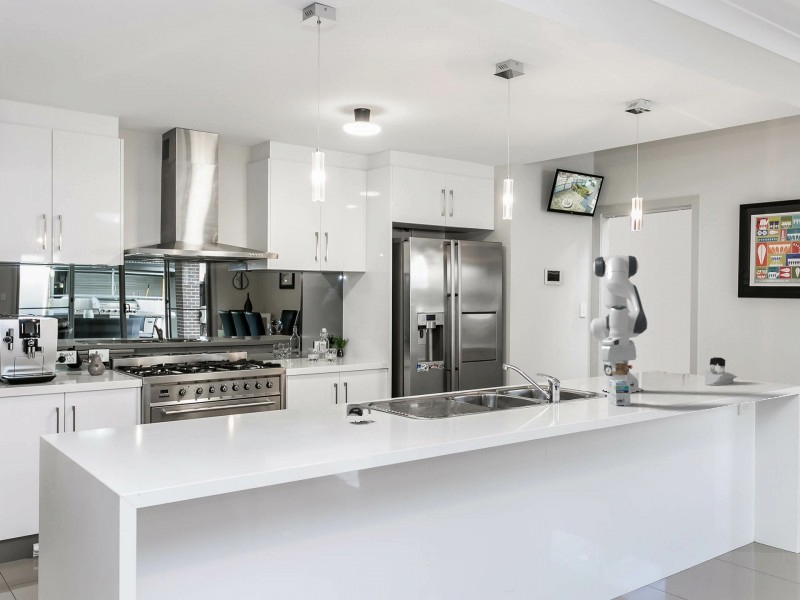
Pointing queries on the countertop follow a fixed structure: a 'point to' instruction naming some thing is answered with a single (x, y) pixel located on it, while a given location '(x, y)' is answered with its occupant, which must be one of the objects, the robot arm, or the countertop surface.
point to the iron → (718, 373)
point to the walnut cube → (621, 369)
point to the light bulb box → (620, 392)
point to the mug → (356, 409)
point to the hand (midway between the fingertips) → (619, 370)
